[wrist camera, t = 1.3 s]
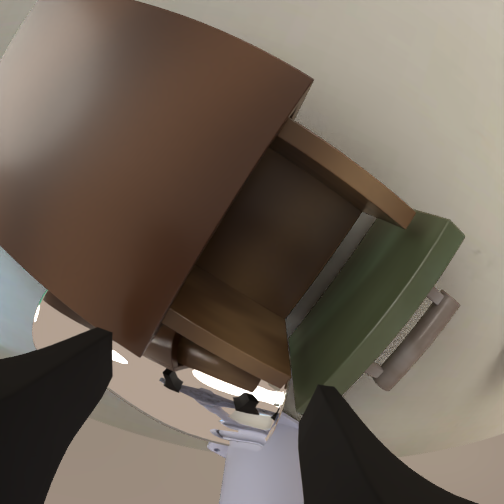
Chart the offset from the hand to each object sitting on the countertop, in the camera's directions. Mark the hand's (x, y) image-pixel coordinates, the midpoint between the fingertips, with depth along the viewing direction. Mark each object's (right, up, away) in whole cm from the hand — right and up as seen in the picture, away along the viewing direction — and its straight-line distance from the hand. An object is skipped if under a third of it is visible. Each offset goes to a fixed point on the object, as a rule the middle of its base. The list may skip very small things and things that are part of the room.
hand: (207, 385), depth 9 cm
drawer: (+4, +5, +8) cm, 10 cm away
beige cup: (-12, 0, +8) cm, 14 cm away
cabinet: (-5, +11, +8) cm, 14 cm away
